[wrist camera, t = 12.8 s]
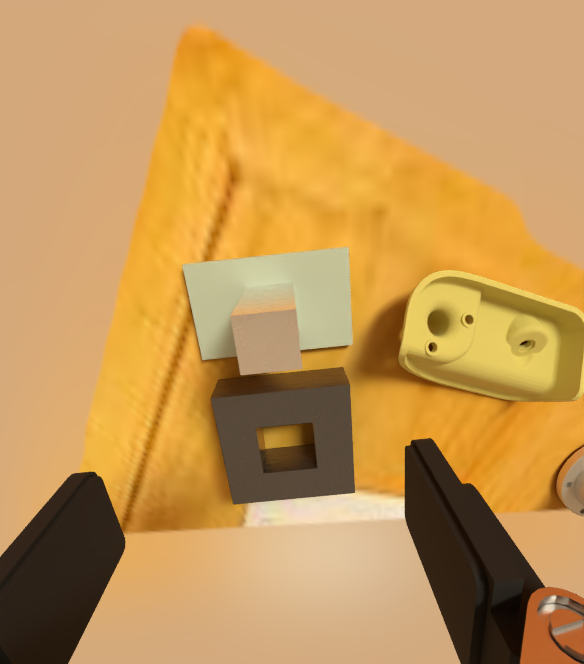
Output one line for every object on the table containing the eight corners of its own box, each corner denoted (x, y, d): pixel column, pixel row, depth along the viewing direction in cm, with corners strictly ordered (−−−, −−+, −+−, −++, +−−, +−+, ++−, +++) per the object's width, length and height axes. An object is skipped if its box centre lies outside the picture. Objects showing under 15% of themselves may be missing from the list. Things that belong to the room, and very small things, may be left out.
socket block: (343, 367, 36) (349, 384, 32) (348, 467, 41) (354, 492, 37) (218, 379, 36) (210, 398, 32) (238, 478, 41) (233, 504, 37)
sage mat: (346, 246, 32) (348, 247, 31) (350, 341, 35) (352, 344, 34) (185, 263, 32) (182, 265, 31) (204, 356, 35) (202, 360, 34)
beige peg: (292, 282, 32) (296, 309, 22) (297, 326, 33) (302, 368, 24) (246, 287, 32) (230, 316, 22) (253, 330, 33) (240, 375, 24)
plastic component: (593, 312, 32) (581, 412, 31) (525, 320, 39) (514, 402, 38) (417, 255, 28) (397, 366, 27) (378, 276, 36) (360, 364, 34)
